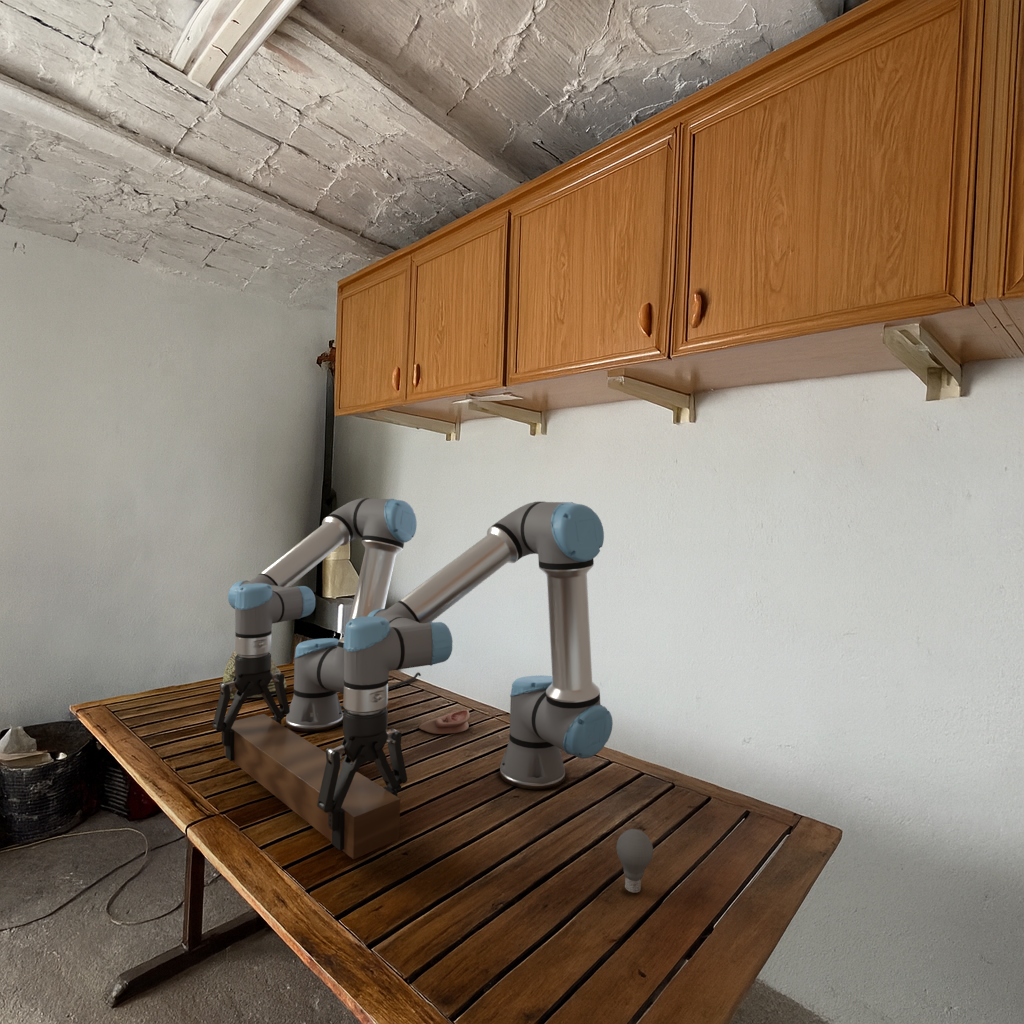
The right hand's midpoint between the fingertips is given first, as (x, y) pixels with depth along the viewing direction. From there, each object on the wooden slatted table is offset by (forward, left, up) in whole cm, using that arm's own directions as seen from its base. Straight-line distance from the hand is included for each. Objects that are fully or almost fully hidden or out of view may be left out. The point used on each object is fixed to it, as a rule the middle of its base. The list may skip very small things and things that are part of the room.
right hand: (363, 835), depth 110 cm
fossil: (-35, -98, -5) cm, 104 cm away
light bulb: (-25, +39, -5) cm, 47 cm away
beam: (-2, -23, -1) cm, 23 cm away
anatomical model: (-57, -36, -5) cm, 67 cm away
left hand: (-5, -46, 0) cm, 46 cm away
